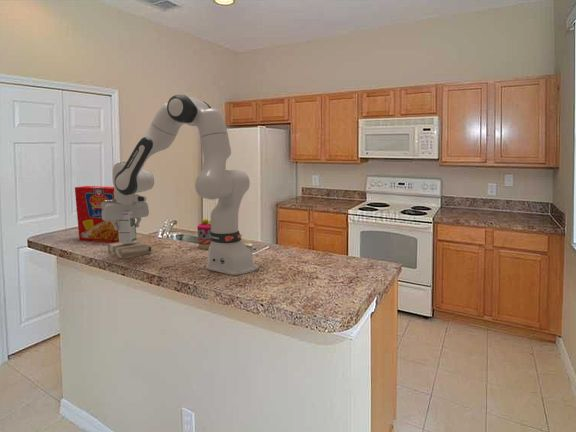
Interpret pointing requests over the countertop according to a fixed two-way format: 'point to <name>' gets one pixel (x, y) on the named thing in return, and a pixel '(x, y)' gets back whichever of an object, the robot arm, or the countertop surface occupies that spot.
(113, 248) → the dock
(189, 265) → the countertop surface
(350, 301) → the countertop surface
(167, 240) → the countertop surface
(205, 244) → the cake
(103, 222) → the pasta box
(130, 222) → the syrup box
